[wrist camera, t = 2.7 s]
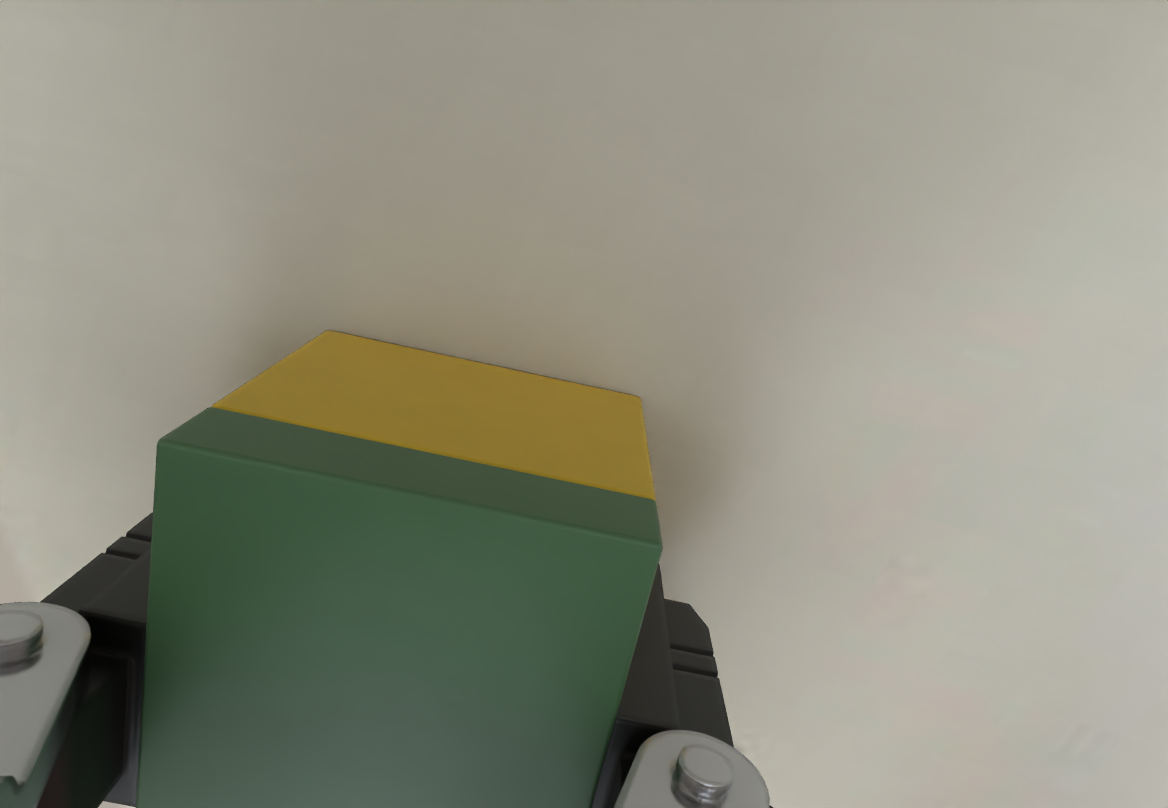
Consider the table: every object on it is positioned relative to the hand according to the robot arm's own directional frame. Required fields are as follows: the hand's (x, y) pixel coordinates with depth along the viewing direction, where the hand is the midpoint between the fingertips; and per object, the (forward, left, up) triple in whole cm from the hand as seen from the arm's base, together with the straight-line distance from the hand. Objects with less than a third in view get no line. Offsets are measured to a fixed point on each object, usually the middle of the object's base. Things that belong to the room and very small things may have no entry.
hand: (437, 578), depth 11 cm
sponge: (0, 0, -1) cm, 1 cm away
